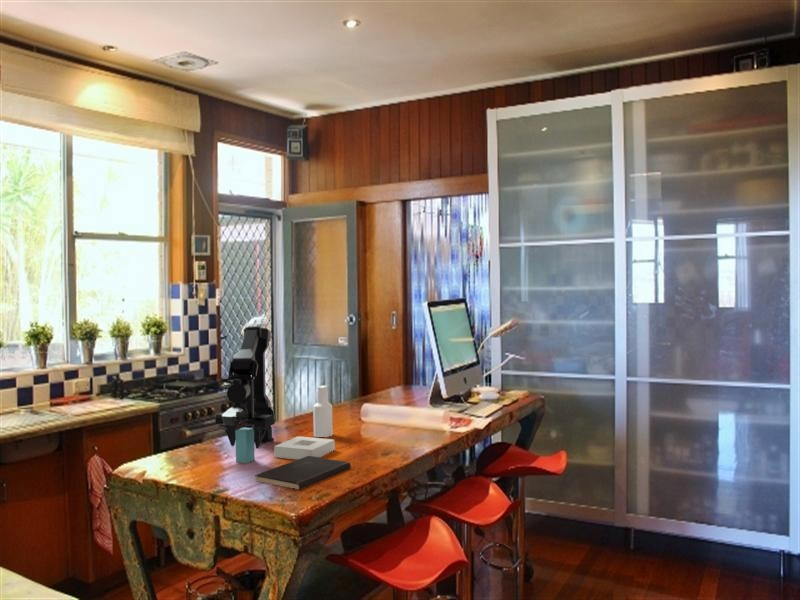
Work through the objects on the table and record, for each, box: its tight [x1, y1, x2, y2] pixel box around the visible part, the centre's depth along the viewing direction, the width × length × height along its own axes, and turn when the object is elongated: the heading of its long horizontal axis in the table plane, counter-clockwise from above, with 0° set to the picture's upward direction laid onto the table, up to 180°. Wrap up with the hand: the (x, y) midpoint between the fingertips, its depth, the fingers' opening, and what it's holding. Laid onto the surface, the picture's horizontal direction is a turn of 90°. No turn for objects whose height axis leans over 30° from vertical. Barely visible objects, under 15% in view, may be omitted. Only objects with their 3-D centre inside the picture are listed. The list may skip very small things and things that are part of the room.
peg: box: [235, 427, 256, 464], centre depth 197 cm, size 4×4×10 cm
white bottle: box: [312, 385, 334, 438], centre depth 229 cm, size 7×7×18 cm
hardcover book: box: [254, 456, 351, 491], centre depth 181 cm, size 16×23×2 cm
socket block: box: [273, 436, 336, 460], centre depth 204 cm, size 14×14×4 cm
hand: (245, 447), depth 197 cm, fingers open, 9 cm apart
